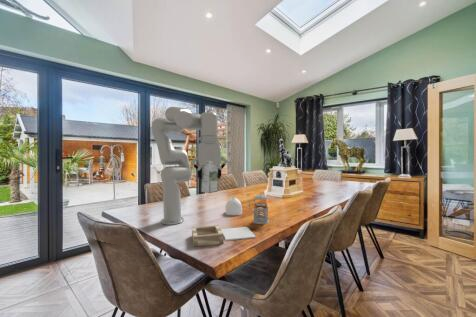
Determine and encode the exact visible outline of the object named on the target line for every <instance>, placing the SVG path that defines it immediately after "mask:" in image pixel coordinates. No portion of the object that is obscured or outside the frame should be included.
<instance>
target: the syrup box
mask: <svg viewBox="0 0 476 317" xmlns="http://www.w3.org/2000/svg"><path fill="white" fill-rule="evenodd" d="M200 192H201V193H205V194H206V193H207V194H211V193H216V192H219V179H218V166H217V165H213V161H207V165H203V166H202V167H201V179H200Z"/></svg>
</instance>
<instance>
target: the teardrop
mask: <svg viewBox="0 0 476 317" xmlns="http://www.w3.org/2000/svg"><path fill="white" fill-rule="evenodd" d="M224 213H225V215H227V216H239V215H242V214H243V205H242V203H241V201H240V200H239V199H238V198H237V197H235V195H234V194H233V196H232V197H231V198H230V199H228V201H227V202H226V205H225V212H224Z"/></svg>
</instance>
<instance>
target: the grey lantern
mask: <svg viewBox="0 0 476 317" xmlns="http://www.w3.org/2000/svg"><path fill="white" fill-rule="evenodd" d="M258 180H259V181H262V180H263V178H262V177H259V178H258ZM267 199H269V197H268V196H267V195H265V194H262V193H259V194H257V195H255V196H254V197H253V198H252V199H251V200H250V201H249V204H248V208H249V210H250V212H251V213H253V220H252V223H253V224H256V225H257V224H258V225H266V224H270V220H269V211H268V210H269V207H268V204H267V203H265V202H264V203H263V202H257V203H256V202H255V201H256V200H260V201H262V200H267ZM252 202H254V208H253V209H254V210H252V209H251V203H252Z"/></svg>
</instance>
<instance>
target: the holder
mask: <svg viewBox="0 0 476 317" xmlns="http://www.w3.org/2000/svg"><path fill="white" fill-rule="evenodd" d="M221 229H222V228H221V227H220V225H219V224H217V225H215V224H214V225H205V226H195V227H193V226H192V227H191V236H192V237H191V238H192V245H193V247H202V246H203V247H204V246H211V245H220V244H224V236H223V233H222V231H221Z"/></svg>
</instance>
